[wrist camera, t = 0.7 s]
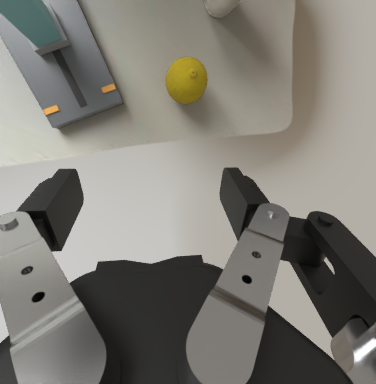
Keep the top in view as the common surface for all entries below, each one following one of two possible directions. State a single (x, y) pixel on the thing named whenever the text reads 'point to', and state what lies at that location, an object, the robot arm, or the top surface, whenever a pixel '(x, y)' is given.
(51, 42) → the slider tab
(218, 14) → the cup with straw
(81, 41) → the slider track
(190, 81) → the lemon
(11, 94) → the top surface
